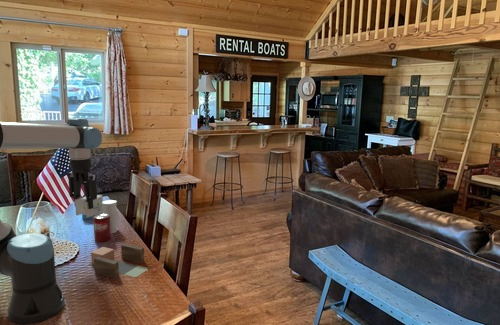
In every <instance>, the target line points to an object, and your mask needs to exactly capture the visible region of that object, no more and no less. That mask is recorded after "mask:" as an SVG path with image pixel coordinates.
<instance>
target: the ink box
mask: <svg viewBox="0 0 500 325" xmlns="http://www.w3.org/2000/svg"><path fill="white" fill-rule="evenodd" d="M103 197H104V196H103V194H97V199H95V200H93V216H91V217H86V206H85V201H86V200H87V199H86V195H85V196H83V197H81V198H82V207H83V214H81V216H82V218H81V219H82V220H93V217H94V216H95V215H98V214H103V204H102V202H103V201H104V200H103V199H104V198H103ZM89 198H90V197H89Z"/></svg>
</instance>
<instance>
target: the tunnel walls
mask: <svg viewBox="0 0 500 325" xmlns="http://www.w3.org/2000/svg"><path fill="white" fill-rule="evenodd" d="M120 249H121V251H120V252H121V253H120V254H121V259H122V260H126V261H130V262H134V263H136V264H137V263H139V264H142V263H144V262H145V248H144V247H142V246H138V245H137V246H136V245H133V244H128V243H123V244H121V246H120ZM93 267H94V274H96V275H99V276H103V277H106V278H110V279H114V280H116V279H118V278H119V277H120V273H119V265H118V262H117V261H113V260H109V259H105V258H101V257H96V258H94V266H93Z"/></svg>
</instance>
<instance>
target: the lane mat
mask: <svg viewBox="0 0 500 325" xmlns="http://www.w3.org/2000/svg"><path fill="white" fill-rule="evenodd" d="M114 260H115V261H117V262H118V265H119V275H120V274H122V275H125V276H129V277H133V278H138V277H139V276H141V275H143V274H144V273H146V272H147V271H148V269H147V268H148V267H145V266H141V265H137V264H134V263H130V262H126V261H121V260H118V259H114ZM87 266H90V267H94V265H93V264H92V262H90V263H89V264H88V265H87ZM145 271H146V272H145ZM142 273H143V274H142Z"/></svg>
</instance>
